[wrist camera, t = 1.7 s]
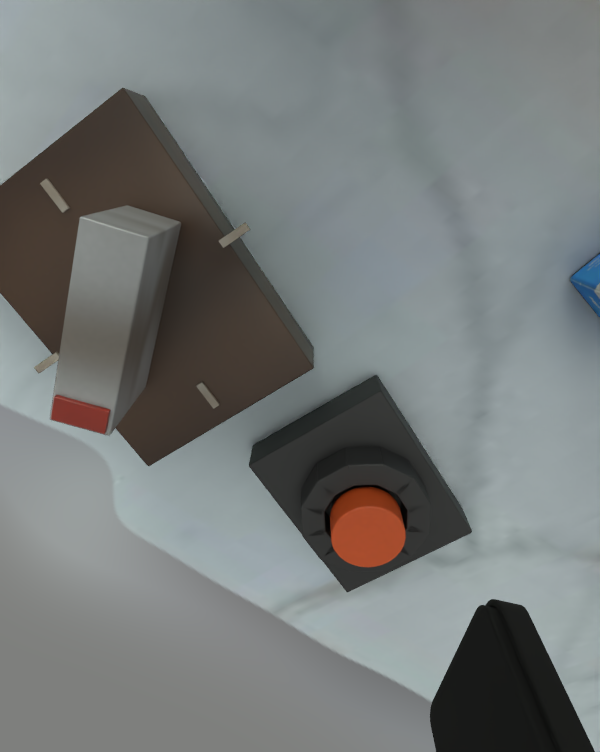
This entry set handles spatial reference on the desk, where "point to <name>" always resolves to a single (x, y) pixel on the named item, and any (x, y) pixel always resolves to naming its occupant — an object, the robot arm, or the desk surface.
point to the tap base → (186, 283)
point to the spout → (112, 315)
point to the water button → (367, 527)
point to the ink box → (589, 283)
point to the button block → (358, 476)
